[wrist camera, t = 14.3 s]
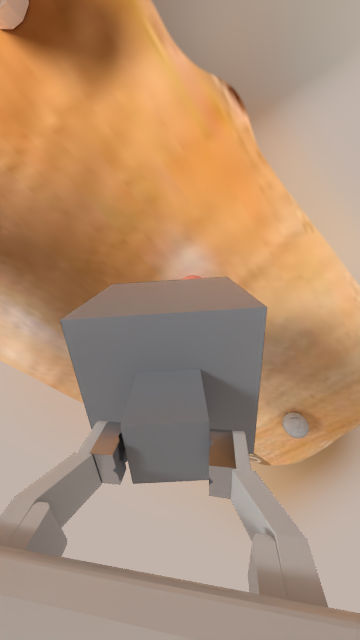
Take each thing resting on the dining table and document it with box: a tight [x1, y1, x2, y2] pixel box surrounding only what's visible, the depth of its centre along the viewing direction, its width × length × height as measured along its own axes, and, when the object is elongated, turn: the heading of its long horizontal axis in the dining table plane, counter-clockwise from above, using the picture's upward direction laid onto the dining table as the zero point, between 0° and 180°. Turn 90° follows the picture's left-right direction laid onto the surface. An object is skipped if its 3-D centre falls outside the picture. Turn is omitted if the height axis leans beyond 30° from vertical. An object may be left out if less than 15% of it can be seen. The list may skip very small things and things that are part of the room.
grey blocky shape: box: [60, 277, 267, 484], centre depth 15 cm, size 10×10×12 cm
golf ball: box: [282, 412, 309, 438], centre depth 36 cm, size 4×4×4 cm
